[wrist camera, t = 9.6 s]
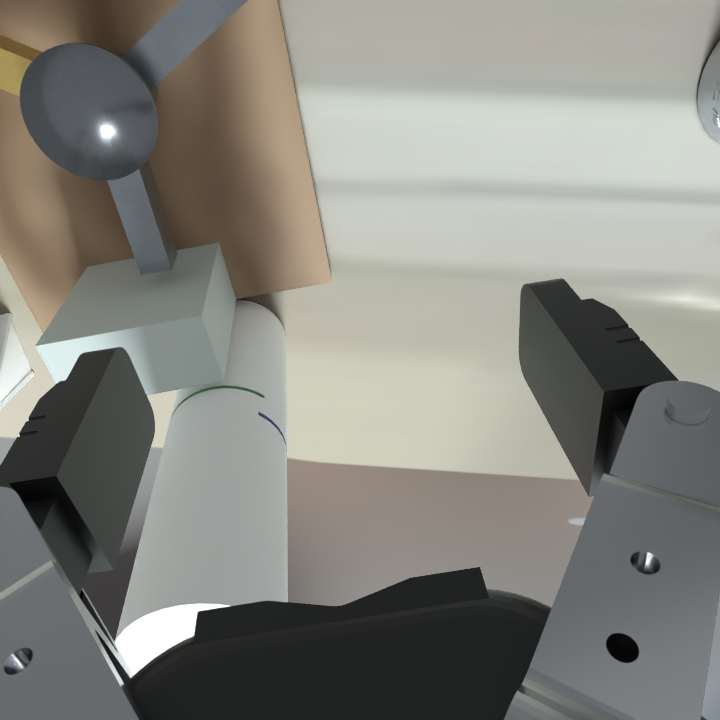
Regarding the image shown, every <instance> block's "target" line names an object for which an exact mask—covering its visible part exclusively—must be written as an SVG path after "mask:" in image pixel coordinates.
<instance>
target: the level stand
mask: <svg viewBox="0 0 720 720" xmlns="http://www.w3.org/2000/svg"><path fill="white" fill-rule="evenodd" d="M177 253H178V254H177V257H176V260H175V263H174V265H173V268H172V270H171V271H164V272H157V273H150V274H143V275H141V274H140V271H139V269H138V266H137V263H136V260H135V258H132V259H126V260H121V261H115V262H110V263H104V264H99V265H93V266H88V267H87V268H86V269H85V271H84V272H83V274H82V275H81V277H80V279H79V280H78V282H77V283H76V285H75V286H74V288H73V289H72V291H71V292H70V294H69V295H68V297H67V298H66V300H65V301H64V303H63V304H62V306H61V307H60V309H59V311H58V312H57V314H56V315H55V317H54V318H53V320H52V321H51V323H50V324H49V326H48V327H47V329H46V330H45V332H44V333H43V335H42V336H41V338H40V339H39V341H38V343H37V344H36V346H35V347H36V349H37V350H38V352H39V354H40V356H41V358H42V359H43V361H44V363H45V365H46V366H47V368H48V370H49V372H50V374H51V375H52V377H53V379H54V381H55V383H56V384H57V383H58V382H59V381H64V380H66V379H67V377H68V375H69V374H70V372H71V370H72V368H73V366H74V365H75V363H76V361H77V359H78V357H79V356H80V355H81V354H82V353H84V352H91V351H97V350H104V349H110V348H116V347H122V348H124V349H125V350H126V351H127V353H128V354H129V356H130V358H131V361H132V363H133V365H134V368H135V370H136V372H137V375H138V377H139V379H140V381H141V384H142V386H143V388H144V391H145V393H146V395H150V394H156V393H161V392H167V391H172V390H178V389H183V388H188V387H194V386H199V385H205V384H210V383H216V382H221V381H225V374H226V367H227V360H228V353H229V346H230V339H231V332H232V325H233V318H234V311H235V304H236V297H235V294H234V291H233V287H232V284H231V281H230V277H229V274H228V271H227V268H226V264H225V261H224V258H223V255H222V251H221V248H220V245H219V243H214V244H209V245H203V246H198V247H192V248H187V249H181V250H177Z"/></svg>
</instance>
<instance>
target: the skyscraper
mask: <svg viewBox="0 0 720 720" xmlns="http://www.w3.org/2000/svg"><path fill="white" fill-rule="evenodd" d="M33 376H34V373H33V371H31V368H30V366H29V363H28V361H27V358H26V356H25V353H24V351H23V348H22V346H21V343H20V341H19V338H18V336H17V333H16V331H15V328H14V326H13V323H12V314H11V313H5V314H2V315H0V410H1V409H2V408H3V407H4V406H5V405H6V404H7V403H8V401H9V400H10V399H11V398H12V397H13V396H14V395H15V394H16V393H17V392H18V391H19V390H20V389H21V388H22V387H23V386H24V385H25V384H26V383H27V382H28V381H29V380H30V379H31V378H32V377H33Z"/></svg>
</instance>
